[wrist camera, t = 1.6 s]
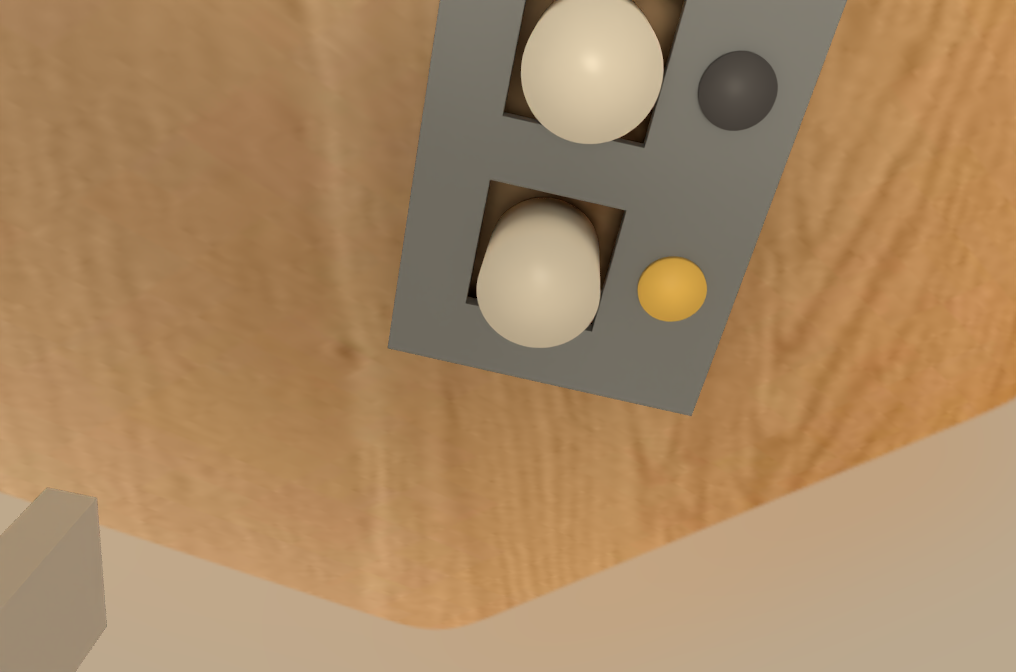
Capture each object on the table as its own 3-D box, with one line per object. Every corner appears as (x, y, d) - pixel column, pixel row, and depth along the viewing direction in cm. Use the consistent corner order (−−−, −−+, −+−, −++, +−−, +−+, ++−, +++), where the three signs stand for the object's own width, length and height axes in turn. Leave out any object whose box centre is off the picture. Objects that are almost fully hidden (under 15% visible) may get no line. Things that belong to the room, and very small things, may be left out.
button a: (480, 287, 30) (466, 333, 27) (501, 186, 28) (489, 222, 25) (584, 310, 30) (583, 359, 27) (611, 211, 28) (614, 250, 25)
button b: (518, 101, 27) (508, 127, 24) (544, -27, 25) (537, -19, 22) (634, 128, 27) (640, 157, 24) (669, 2, 25) (681, 15, 22)
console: (403, 314, 34) (385, 351, 31) (523, -441, 22) (512, -496, 19) (683, 377, 34) (692, 420, 31) (941, -343, 22) (994, -382, 20)
